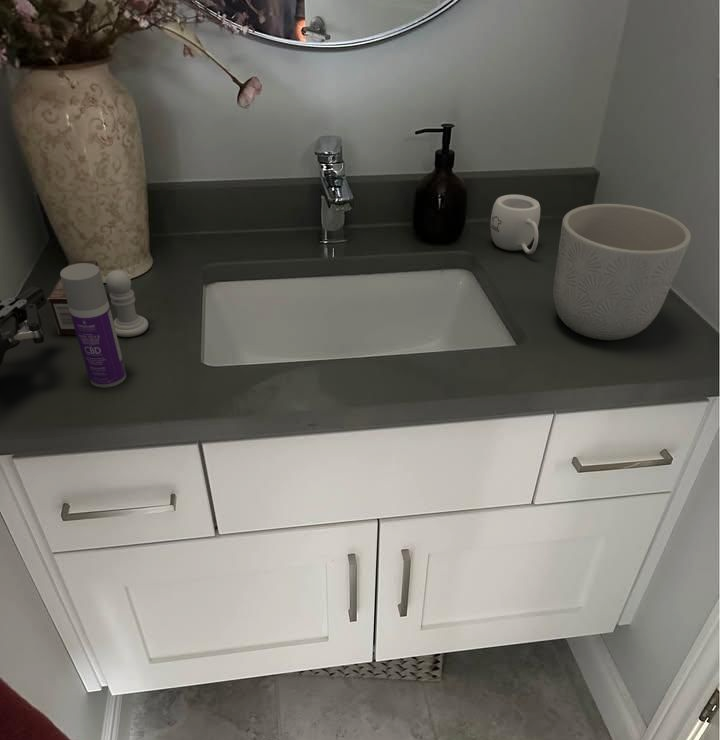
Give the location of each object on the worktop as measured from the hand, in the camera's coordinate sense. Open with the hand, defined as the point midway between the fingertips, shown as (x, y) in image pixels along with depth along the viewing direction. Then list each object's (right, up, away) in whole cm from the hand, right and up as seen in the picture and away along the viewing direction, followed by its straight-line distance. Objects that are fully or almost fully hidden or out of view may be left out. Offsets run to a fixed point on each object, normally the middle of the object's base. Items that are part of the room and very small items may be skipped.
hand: (39, 294), depth 92 cm
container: (+9, -11, 0) cm, 15 cm away
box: (+1, -2, +5) cm, 6 cm away
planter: (+79, -1, +13) cm, 80 cm away
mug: (+71, +17, +33) cm, 80 cm away
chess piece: (+9, -3, +9) cm, 13 cm away
